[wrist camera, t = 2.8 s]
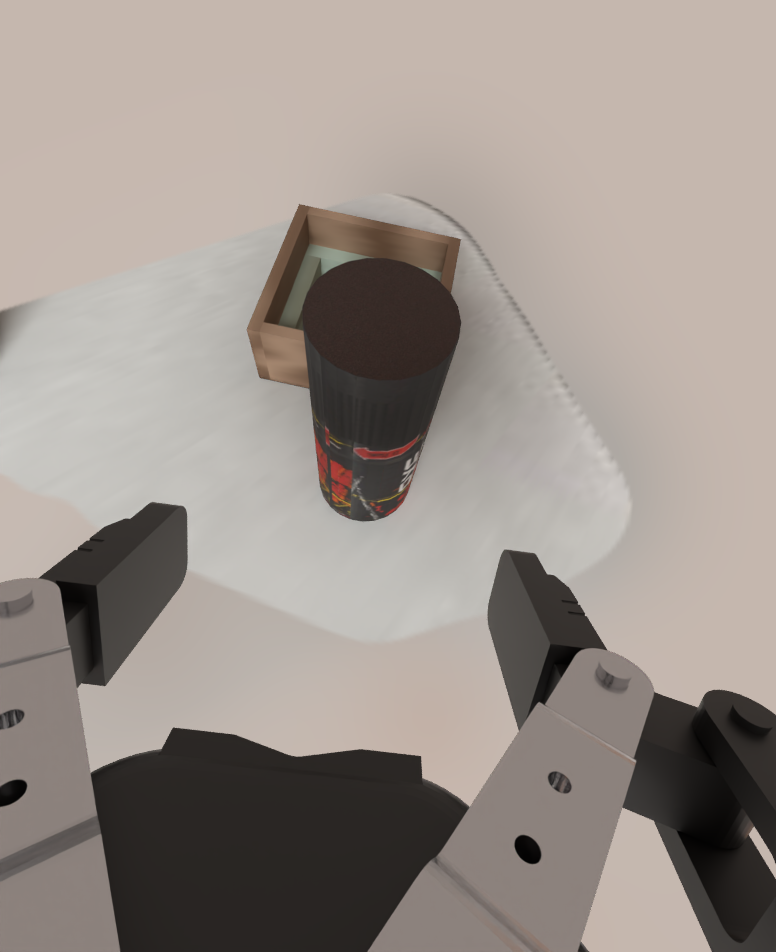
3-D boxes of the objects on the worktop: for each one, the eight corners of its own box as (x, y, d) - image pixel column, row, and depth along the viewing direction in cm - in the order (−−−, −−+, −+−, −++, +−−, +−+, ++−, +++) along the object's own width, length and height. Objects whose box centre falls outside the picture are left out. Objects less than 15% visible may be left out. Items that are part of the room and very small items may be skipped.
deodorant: (337, 428, 33) (334, 240, 19) (419, 454, 32) (476, 283, 19) (305, 504, 30) (276, 350, 16) (394, 533, 30) (438, 401, 16)
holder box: (259, 377, 34) (246, 329, 29) (304, 261, 39) (299, 204, 34) (423, 413, 34) (436, 369, 29) (446, 291, 39) (460, 239, 34)
